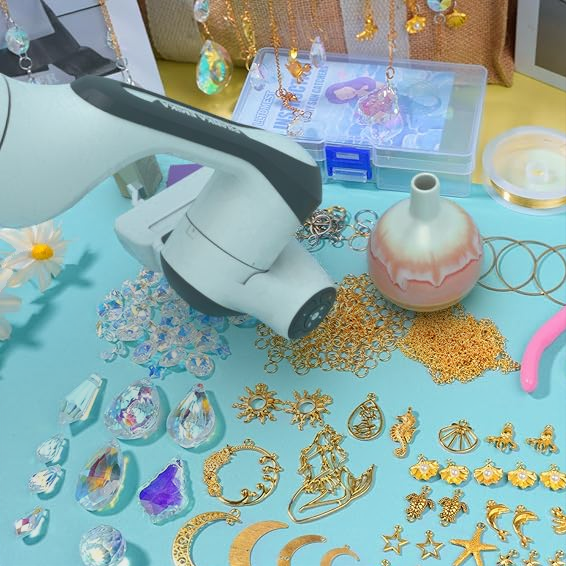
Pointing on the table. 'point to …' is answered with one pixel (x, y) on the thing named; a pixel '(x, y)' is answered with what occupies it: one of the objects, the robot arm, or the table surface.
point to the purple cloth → (181, 172)
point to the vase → (425, 250)
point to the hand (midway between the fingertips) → (166, 167)
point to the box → (140, 176)
